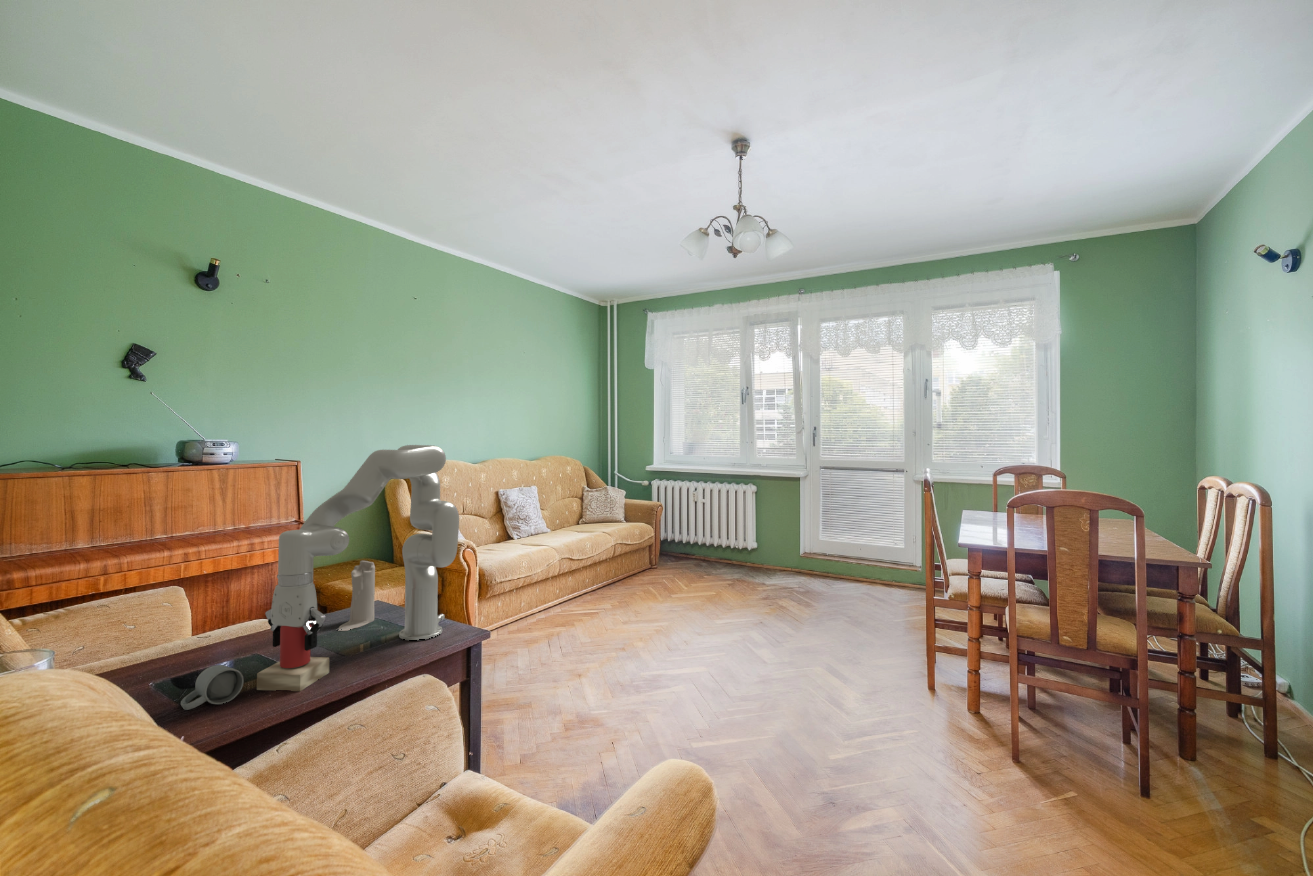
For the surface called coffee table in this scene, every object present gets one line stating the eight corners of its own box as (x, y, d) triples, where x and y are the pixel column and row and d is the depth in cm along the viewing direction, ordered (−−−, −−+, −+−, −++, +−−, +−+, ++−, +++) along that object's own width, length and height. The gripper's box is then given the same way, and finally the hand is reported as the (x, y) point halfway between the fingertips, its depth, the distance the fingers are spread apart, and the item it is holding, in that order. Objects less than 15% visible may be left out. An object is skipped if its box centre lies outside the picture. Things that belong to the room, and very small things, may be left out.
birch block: (288, 671, 147) (289, 656, 147) (329, 672, 147) (329, 657, 147) (256, 689, 136) (257, 673, 136) (300, 691, 136) (300, 674, 136)
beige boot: (330, 630, 179) (331, 568, 179) (360, 617, 193) (361, 559, 193) (350, 631, 178) (351, 569, 178) (378, 618, 192) (379, 560, 192)
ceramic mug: (229, 688, 137) (229, 657, 137) (244, 697, 132) (244, 664, 132) (174, 706, 128) (174, 673, 128) (188, 716, 123) (188, 681, 123)
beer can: (295, 671, 138) (296, 622, 138) (272, 668, 139) (273, 620, 139) (316, 661, 144) (317, 614, 144) (294, 658, 145) (295, 612, 146)
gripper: (254, 580, 140) (253, 649, 140) (312, 585, 136) (310, 655, 136) (280, 573, 147) (279, 638, 147) (336, 578, 143) (335, 644, 143)
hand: (294, 646), depth 141 cm, fingers open, 9 cm apart
